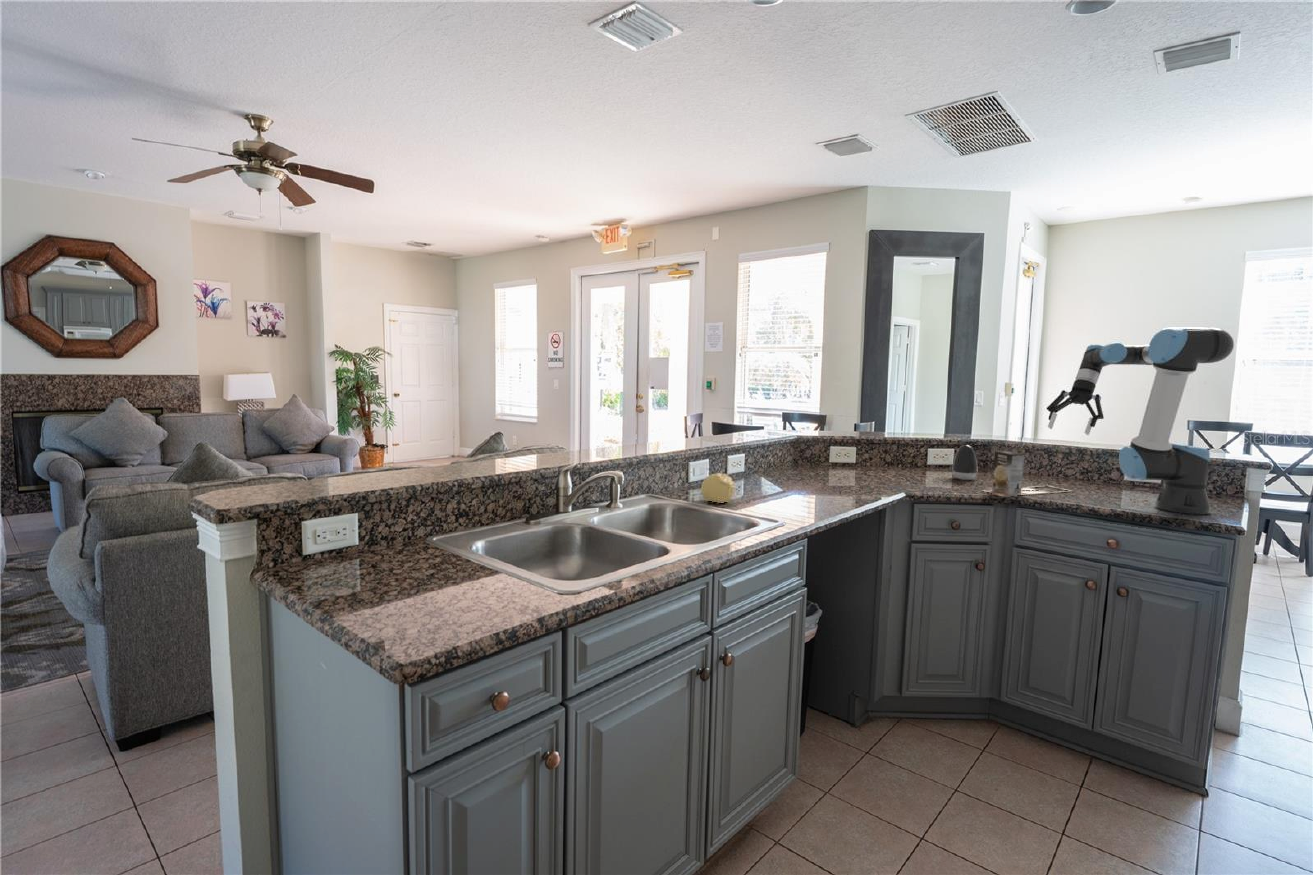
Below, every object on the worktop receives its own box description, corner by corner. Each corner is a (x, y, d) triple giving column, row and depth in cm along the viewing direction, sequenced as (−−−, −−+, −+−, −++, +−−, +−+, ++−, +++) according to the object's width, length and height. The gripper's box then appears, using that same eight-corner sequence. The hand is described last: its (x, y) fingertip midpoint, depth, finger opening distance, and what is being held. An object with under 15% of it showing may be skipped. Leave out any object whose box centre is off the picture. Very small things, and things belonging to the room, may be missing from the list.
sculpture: (733, 506, 230) (734, 476, 229) (699, 504, 232) (699, 474, 231) (735, 499, 241) (736, 470, 240) (702, 498, 243) (703, 469, 242)
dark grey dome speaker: (972, 477, 292) (975, 443, 290) (980, 481, 282) (982, 446, 280) (948, 476, 294) (950, 443, 292) (954, 480, 284) (957, 446, 282)
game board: (1073, 492, 262) (1073, 490, 262) (1005, 497, 250) (1005, 495, 250) (1047, 486, 273) (1047, 485, 272) (981, 491, 261) (981, 490, 261)
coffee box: (990, 490, 261) (993, 450, 259) (1004, 490, 263) (1007, 450, 261) (1008, 495, 252) (1011, 454, 250) (1022, 494, 254) (1025, 453, 252)
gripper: (1123, 389, 256) (1105, 439, 255) (1055, 382, 276) (1038, 428, 274) (1118, 382, 252) (1100, 433, 250) (1049, 375, 271) (1032, 422, 270)
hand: (1067, 430), depth 262 cm, fingers open, 13 cm apart
